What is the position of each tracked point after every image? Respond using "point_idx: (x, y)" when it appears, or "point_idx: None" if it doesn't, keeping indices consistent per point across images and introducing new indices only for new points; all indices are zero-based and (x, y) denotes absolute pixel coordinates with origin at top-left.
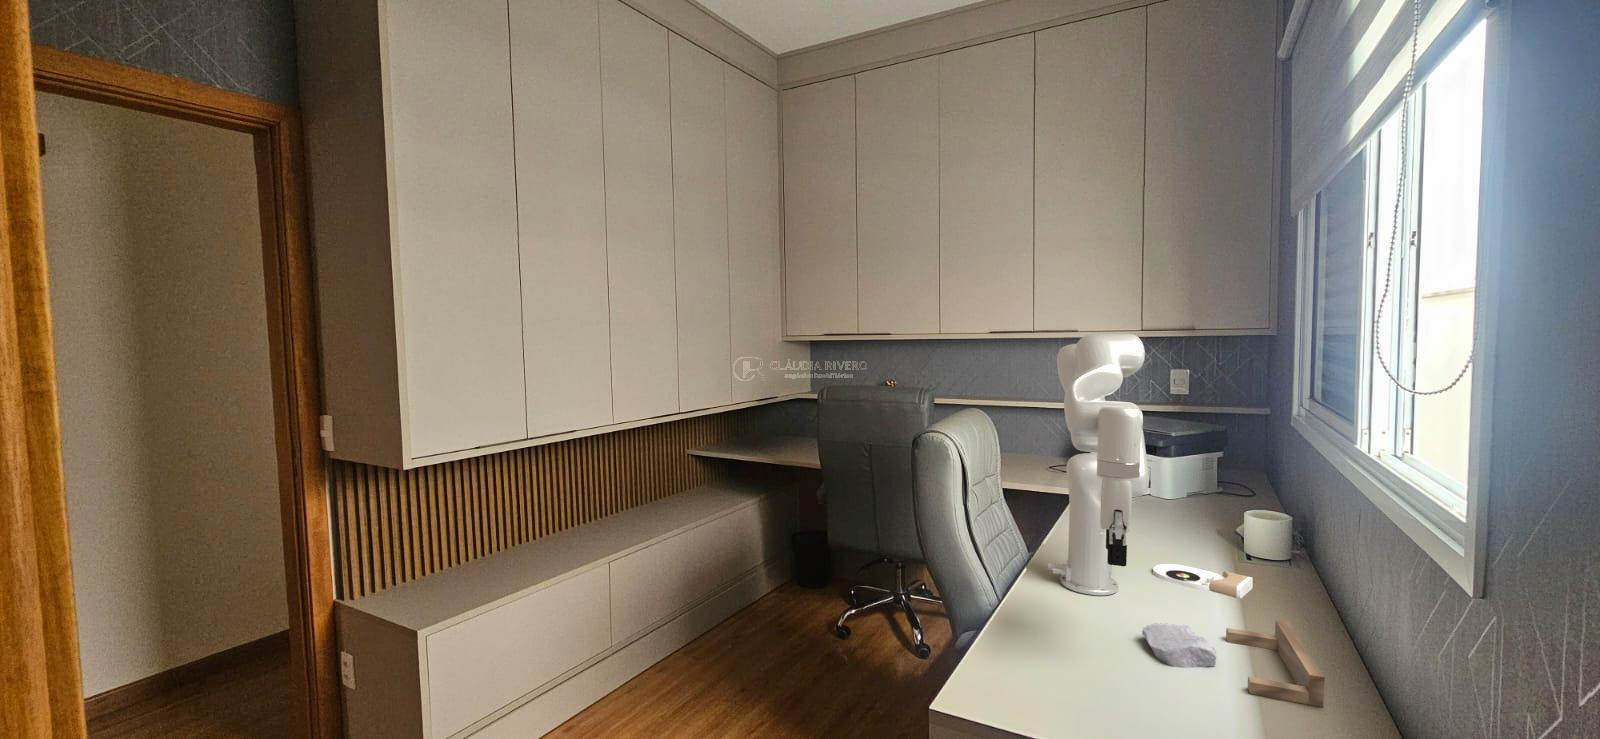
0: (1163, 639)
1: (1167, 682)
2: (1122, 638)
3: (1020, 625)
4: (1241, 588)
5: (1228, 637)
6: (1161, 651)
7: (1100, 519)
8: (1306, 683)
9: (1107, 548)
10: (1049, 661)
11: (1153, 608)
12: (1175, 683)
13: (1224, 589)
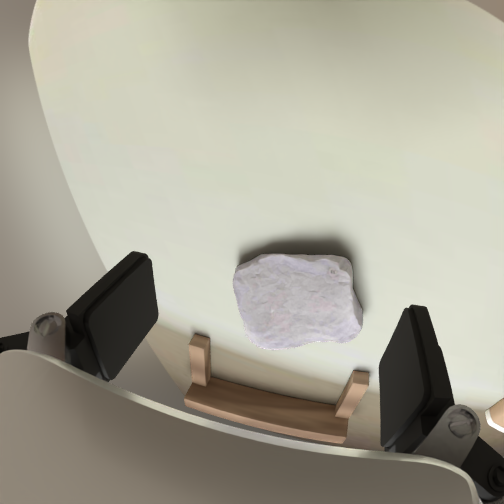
0: (284, 284)
1: (179, 244)
2: (337, 210)
3: None
4: (488, 422)
5: (353, 376)
6: (246, 266)
7: (284, 479)
8: (200, 389)
9: (405, 310)
10: (177, 53)
11: (481, 307)
12: (181, 255)
13: (501, 405)
